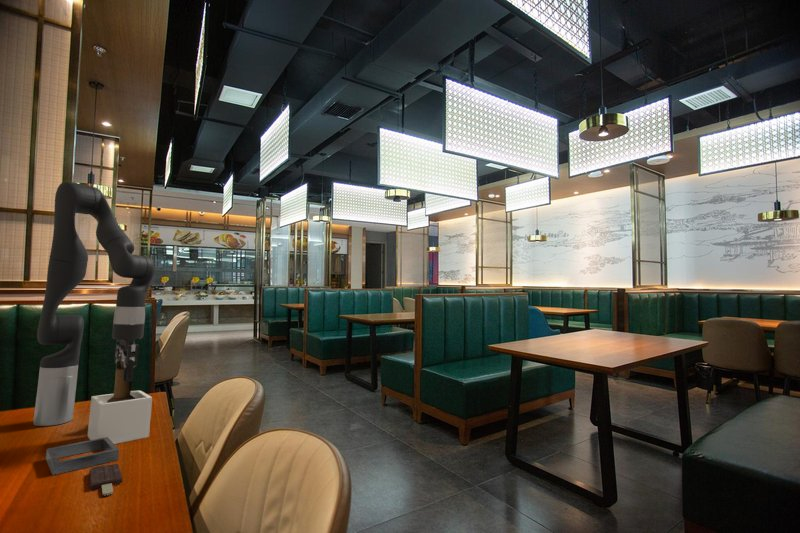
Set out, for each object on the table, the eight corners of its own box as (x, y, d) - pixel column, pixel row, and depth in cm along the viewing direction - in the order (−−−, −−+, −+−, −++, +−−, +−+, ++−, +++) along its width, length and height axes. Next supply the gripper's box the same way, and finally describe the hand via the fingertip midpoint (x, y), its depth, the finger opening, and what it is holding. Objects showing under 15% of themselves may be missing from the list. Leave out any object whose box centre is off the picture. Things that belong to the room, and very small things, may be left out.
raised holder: (87, 436, 109) (91, 396, 111) (136, 426, 118) (140, 390, 119) (96, 447, 101) (100, 404, 102) (148, 436, 110) (152, 397, 111)
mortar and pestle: (102, 411, 107) (108, 345, 108) (112, 405, 113) (118, 342, 115) (129, 410, 108) (135, 345, 110) (138, 404, 115) (143, 342, 116)
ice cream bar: (123, 494, 79) (117, 469, 90) (124, 486, 79) (118, 461, 90) (90, 502, 75) (88, 475, 87) (91, 493, 76) (89, 467, 87)
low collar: (45, 459, 93) (46, 448, 94) (106, 446, 102) (107, 437, 102) (52, 475, 85) (53, 463, 86) (117, 460, 94) (118, 449, 94)
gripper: (107, 321, 115) (102, 376, 113) (119, 324, 105) (113, 384, 104) (137, 320, 120) (132, 373, 119) (151, 323, 111) (146, 381, 109)
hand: (123, 378), depth 111 cm, fingers open, 8 cm apart
